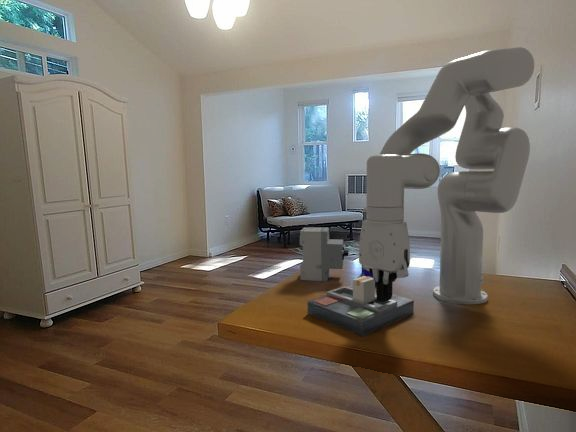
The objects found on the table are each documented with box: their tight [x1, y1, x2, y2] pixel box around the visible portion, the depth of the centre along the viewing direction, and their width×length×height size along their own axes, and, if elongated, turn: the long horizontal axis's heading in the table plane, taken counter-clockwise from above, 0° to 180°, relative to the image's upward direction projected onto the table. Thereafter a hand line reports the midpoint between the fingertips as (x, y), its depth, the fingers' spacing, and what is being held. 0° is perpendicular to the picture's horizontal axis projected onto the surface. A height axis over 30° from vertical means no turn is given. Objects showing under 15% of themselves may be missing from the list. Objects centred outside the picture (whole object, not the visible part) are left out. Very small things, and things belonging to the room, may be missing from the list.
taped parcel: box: [352, 275, 376, 303], centre depth 82 cm, size 4×3×5 cm
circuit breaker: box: [299, 226, 350, 282], centre depth 112 cm, size 8×14×15 cm, turn 78°
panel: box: [307, 285, 415, 337], centre depth 83 cm, size 18×16×4 cm
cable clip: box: [361, 266, 376, 286], centre depth 109 cm, size 12×4×6 cm, turn 172°
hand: (384, 299), depth 78 cm, fingers closed
